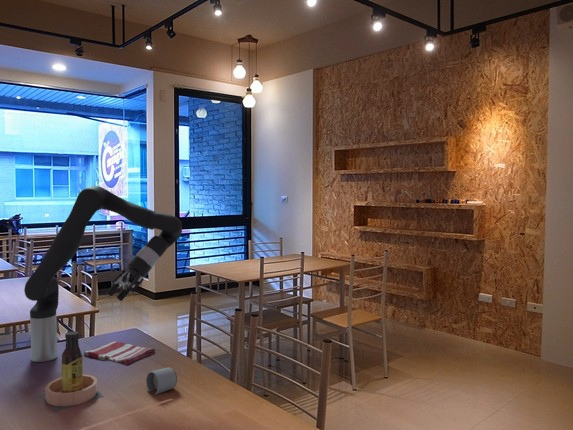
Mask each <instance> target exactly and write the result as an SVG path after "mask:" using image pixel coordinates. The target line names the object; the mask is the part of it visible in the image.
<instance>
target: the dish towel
mask: <svg viewBox="0 0 573 430" xmlns="http://www.w3.org/2000/svg"><path fill="white" fill-rule="evenodd" d="M155 352H156V348H150V347H142V346H137V345H133V344H129V343H125V342H122V341H114V340H113V341H109V342H108V343H105V344H102V345H100V346H97V347H95V348H92V349H90V350H86V351H84V352H83V355H84V356H86V357H89V358H92V359H96V360H102V361H105V362H107V361H110V362H115V363H118V364H122V365H124V366H128V365H129V364H131V363H132V364H133V363H134V362H136V361H139V360H141V359H143V358H145V357H148V356H149V355H153V354H155Z"/></svg>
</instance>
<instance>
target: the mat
mask: <svg viewBox="0 0 573 430" xmlns="http://www.w3.org/2000/svg"><path fill="white" fill-rule="evenodd" d="M40 397H41V398H42V399H43V400H44V401H45V402H46V403H47V401H46V399H45V393H42V394H40ZM102 398H105V396H104V395H103V394H102V393H101V392H99V391H98V390H97V394H96V396H95V397H94V398H92V399H91V400H89V401H87V402H85V403H84V404H86V403H88V402H92V401H96V400H99V399H102ZM48 405H49V406H50V408H51V409H52V410H53V411H54V412H56V413H57V412H59V411H63V410H65V409H68V408H72V407H75V406H79V405H80V404H78V405H74V406H67V407H57V406H52V405H50V404H48Z"/></svg>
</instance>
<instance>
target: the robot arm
mask: <svg viewBox="0 0 573 430" xmlns="http://www.w3.org/2000/svg"><path fill="white" fill-rule="evenodd" d="M100 210H104V211H108V212H109V211H110V212H113V213H115V214H117V215H120V216H122V217H123V218H124V219H125V220H127V221H129V222H131V223H133V224H135V225H137V226H140V227H142V228H145V229H148V230H150V231H151V230H152V231H153V230H155V229H156V230H159V231H160V232H159V233H158V234H157V235H154V236H153V237H151V238H150V239H149V240H148V241H147V242H146V244H145V245H144V246H143V247H142V248H141V249H139V251H138V252H136V254H135V255H134V257H132V259H131V260H130V261H129V262H128V264H127V266H128V269H127V270H126V269H124V268H123V269H121V271H120V272H119V273H118V274H117V275H116V276H115V277H114V278H113V279H112V286H111V287H110V288H109V289H108V290H107V291H106V294H107V295H108V296H110V297H113V295H115V293H116V292H117V291H118V290H119V288H121V287H123V286H124V288H123V289H122V290H121V291H120V293H118V295H117V296H116V299H118V300H119V302H122V301H124V299H125V298H126V297H127V295H128V294H130V293H135V291H136V290H137V289H138V288H139V286H140V285H141V284H142V283H143V281H144V280H145V277H146V276H147V275H148V273H149V272H150V271H151V270H152V269H153V268H154V266H156V264H157V263H158V261H159V260H160V258H161V257H162V256H163V254H164V253H165V252H166V251H167V250H168V249H169V248H170V247H171V246H173V244H175V243H176V242H177V240H178V239H179V238H180V237H181V235H182V232H183V224H182V221H181V219H180V218H178V217H176V215H175V216H174V215H172V214H167V213H163V212H156V211H154V210H151V209H149V208H146V207H143V206H141V205H138V204H136V203H133V202H131V201H128V200H126V199H124V198H122V197H120V196H118V195H116V194H114V193H113V192H111V191H109V190H108V189H105V188H104V187H102V186H100V185H93V186H89V187H86V188H84V189H82V190H81V191H80V192H79V193H78V195H77V197H76V200H75V201H74V204H73V207H72V208H71V210H70V213H69V215H68V216H67V218H66V219H65V221H64V222H63V225H62V226H61V228H60V229H59V231H58V232H57V234H56V236H55V237H54V239H53V240H52V242H51V244H50V246H49V247H48V249H47V251H46V252H45V254H44V255H43V258H42V260H41V262H40V263H39V264H38V266H37V267H36V269H35V270H34V271H33V273H32V274H31V275H30V277H29V278H28V279H27V281H26V283H25V285H24V290H23V291H24V295H25V298H27V299H28V300H30V301H31V302H32V301H34V302H35V304H34V305H33V307H31V309H30V310H29V320H30V321H29V322H30V323H29V324H30V325H29V326H30V356H31V358H30V359H31V361H32V362H34V363H35V362H36V363H43V362H49V361H52V360H56V358H58V334H57V333H58V328H57V327H58V326H57V323H58V322H57V309H58V307H59V297H60V296H59V293H60V292H59V291H60V290H59V282H58V279H57V278H56V277H55V276H56V275H57V273H58V272H59V271H60V270H61V269H62V268H64V266H65V265H67V264H68V263H69V262H70V261H71V260H72V259H73V258H74V256H75V255H76V253H77V251H79V248H80V247H81V245H82V242H83V239H84V236H85V230H86V228H87V225H88V224H89V222H90V220H91V219H92V218H93V217H94V215H95V214H96V213H97V212H98V211H100Z"/></svg>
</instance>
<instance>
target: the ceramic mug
mask: <svg viewBox="0 0 573 430" xmlns="http://www.w3.org/2000/svg"><path fill="white" fill-rule="evenodd" d="M145 383H146V387H147V390H148V392H151V391H154V390H156V392H155V393H154V396H155V395H159V394H162V393H164V392H167V391H170V390H172V389H174V388H175V387H176V386H177V383H178V376H177V372H176V371H175V369H174V368H172V367H164V368H161V369H155V370H151V371H149V372H148V373H147V374H146V378H145Z"/></svg>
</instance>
